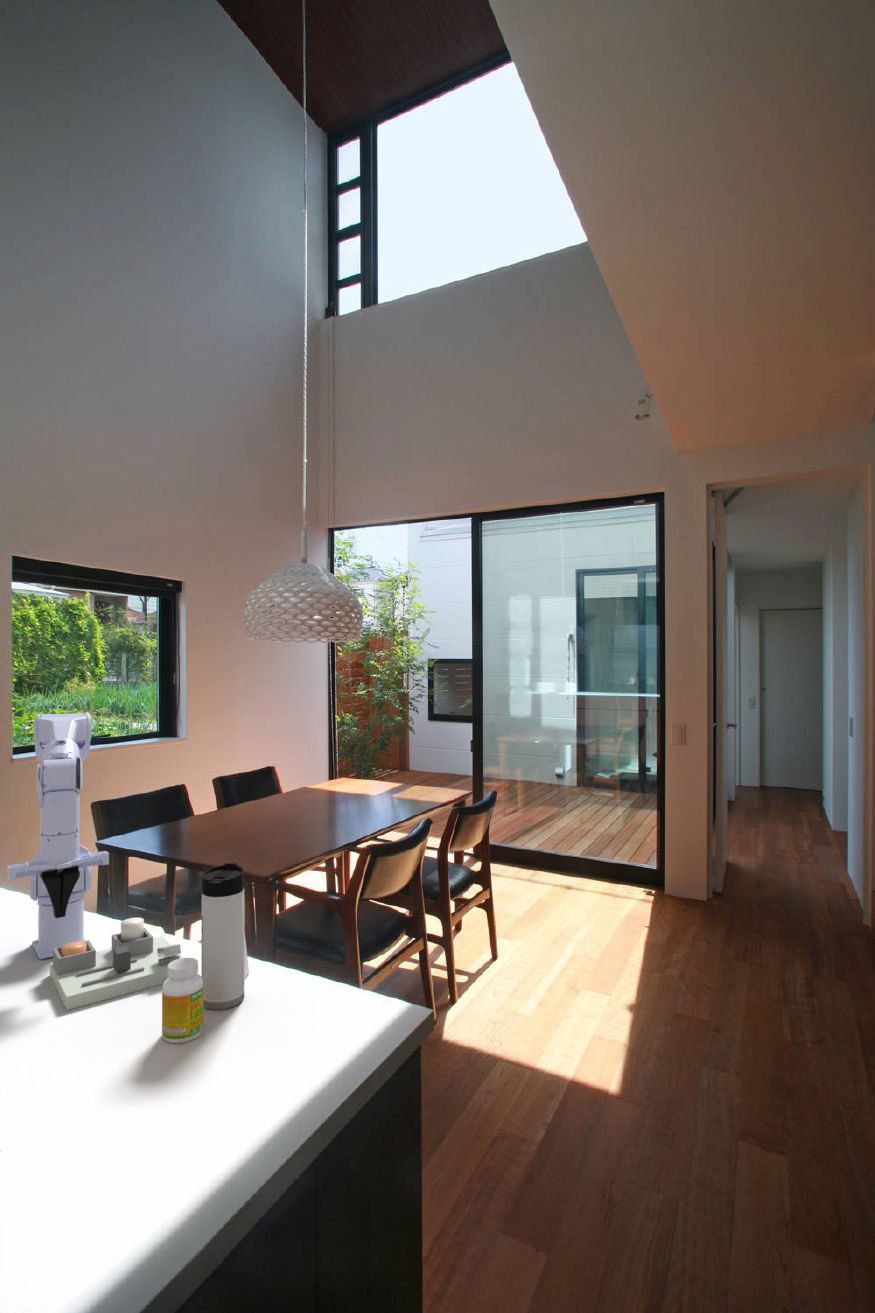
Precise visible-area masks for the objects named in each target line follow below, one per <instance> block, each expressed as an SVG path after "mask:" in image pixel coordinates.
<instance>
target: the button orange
mask: <svg viewBox="0 0 875 1313" xmlns="http://www.w3.org/2000/svg"><path fill="white" fill-rule="evenodd" d="M82 952H86V942H82V941H79V942H72V943H68V944H66V945H64V946H63V947H62V957H65V956H69V955H74V954H78V953H82Z"/></svg>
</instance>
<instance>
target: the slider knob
mask: <svg viewBox="0 0 875 1313" xmlns="http://www.w3.org/2000/svg"><path fill="white" fill-rule="evenodd" d="M113 968H114V969H115V971H116V972H117V973H120V972H124V971H128V970H131V951H130V950H129V948H128V947H127V946H122V947H118V948H114V949H113Z"/></svg>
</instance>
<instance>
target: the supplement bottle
mask: <svg viewBox="0 0 875 1313" xmlns="http://www.w3.org/2000/svg"><path fill="white" fill-rule="evenodd" d="M198 972H199V961H198V959H197V958H193V957H183V958H181V959H177V960H174V961H172V962H170V963H169V964H168V970H167V975H168V977H169V978H168V979H167V980H166V981H165V982H164V983H163V984H162V987H161V995H162V996H161V1006H162V1007H161V1036H162V1038H163V1040H164V1041H165V1042H167V1043H169V1044H181V1043H187V1042H190V1041H193V1040H195V1039H196V1038H198V1037H199V1036H200V1035H201V1034H202V1033H203V1031H204V1006H203V978H202V975H200V974H199V973H198Z"/></svg>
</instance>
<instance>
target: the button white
mask: <svg viewBox="0 0 875 1313" xmlns="http://www.w3.org/2000/svg"><path fill="white" fill-rule="evenodd" d="M144 924H145V920H144V918H143V917H129V918H126V919H124V920H122V921H121V922H120V933H121V942H123V943H125V942H129V941H133V940H137V939H141V938H144V928H145V925H144Z"/></svg>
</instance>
